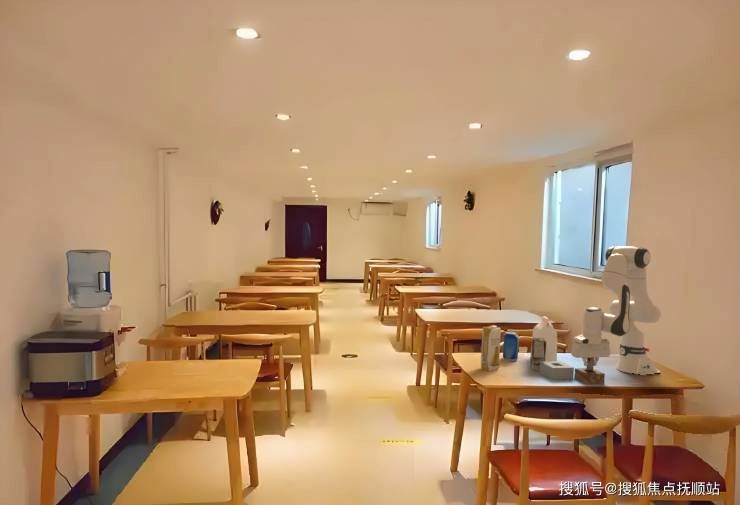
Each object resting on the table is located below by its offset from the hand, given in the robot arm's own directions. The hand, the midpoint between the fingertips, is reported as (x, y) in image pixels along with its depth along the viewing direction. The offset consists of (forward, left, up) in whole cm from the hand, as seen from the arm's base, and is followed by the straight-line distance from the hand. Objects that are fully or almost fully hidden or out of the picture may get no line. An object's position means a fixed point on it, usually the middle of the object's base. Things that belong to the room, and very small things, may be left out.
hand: (590, 365), depth 241 cm
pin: (0, 0, -8) cm, 8 cm away
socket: (+13, -9, -8) cm, 18 cm away
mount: (0, 0, -8) cm, 8 cm away
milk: (+4, -36, -8) cm, 37 cm away
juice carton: (+44, -23, -8) cm, 50 cm away
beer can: (+23, -40, -8) cm, 47 cm away
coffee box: (+16, -22, -8) cm, 28 cm away
